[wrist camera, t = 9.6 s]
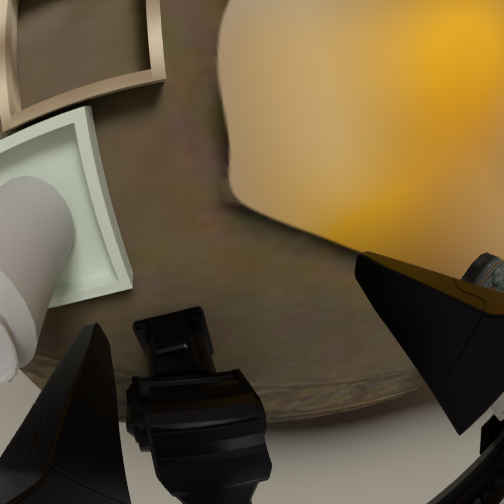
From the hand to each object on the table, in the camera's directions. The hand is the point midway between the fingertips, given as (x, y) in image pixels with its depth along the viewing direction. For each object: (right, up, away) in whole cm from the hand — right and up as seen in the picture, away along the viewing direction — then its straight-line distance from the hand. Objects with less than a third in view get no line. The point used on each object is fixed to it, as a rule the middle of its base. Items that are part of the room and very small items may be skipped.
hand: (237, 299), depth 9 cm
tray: (-16, +4, +8) cm, 18 cm away
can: (-15, +4, +7) cm, 17 cm away
